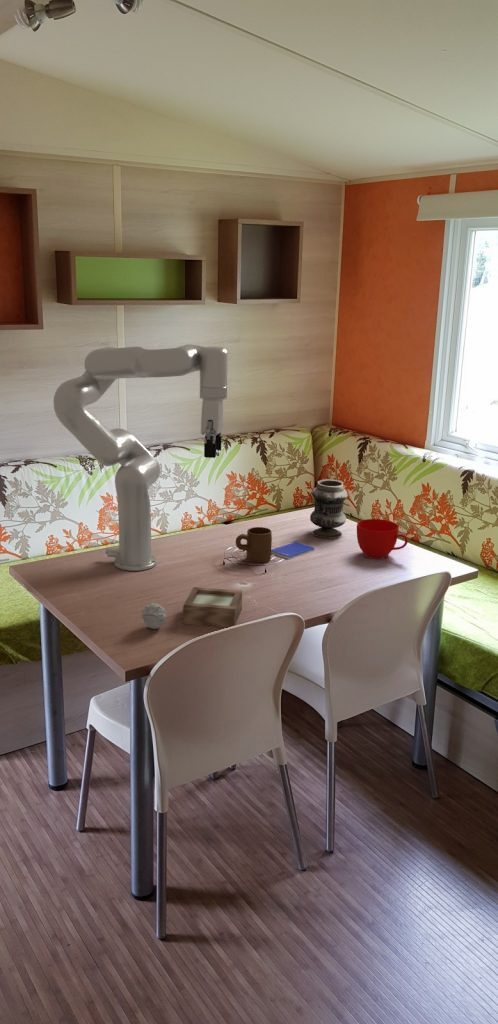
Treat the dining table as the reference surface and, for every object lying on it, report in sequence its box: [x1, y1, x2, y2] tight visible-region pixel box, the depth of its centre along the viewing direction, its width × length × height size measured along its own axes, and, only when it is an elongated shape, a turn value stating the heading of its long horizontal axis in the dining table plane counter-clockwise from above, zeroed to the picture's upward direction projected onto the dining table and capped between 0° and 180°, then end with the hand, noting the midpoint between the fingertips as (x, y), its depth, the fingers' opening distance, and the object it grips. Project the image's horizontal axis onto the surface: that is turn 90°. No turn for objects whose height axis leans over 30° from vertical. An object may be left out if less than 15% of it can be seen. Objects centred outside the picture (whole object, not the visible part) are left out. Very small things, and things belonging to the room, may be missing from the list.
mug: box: [235, 526, 273, 564], centre depth 256 cm, size 12×8×9 cm, turn 121°
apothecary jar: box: [309, 479, 348, 539], centre depth 281 cm, size 12×12×18 cm
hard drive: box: [271, 541, 315, 560], centre depth 266 cm, size 2×8×12 cm
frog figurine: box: [141, 602, 167, 630], centre depth 208 cm, size 6×7×7 cm
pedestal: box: [182, 586, 243, 628], centre depth 216 cm, size 13×12×5 cm
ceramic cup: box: [356, 518, 409, 560], centre depth 262 cm, size 13×17×10 cm
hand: (212, 453), depth 237 cm, fingers open, 9 cm apart
